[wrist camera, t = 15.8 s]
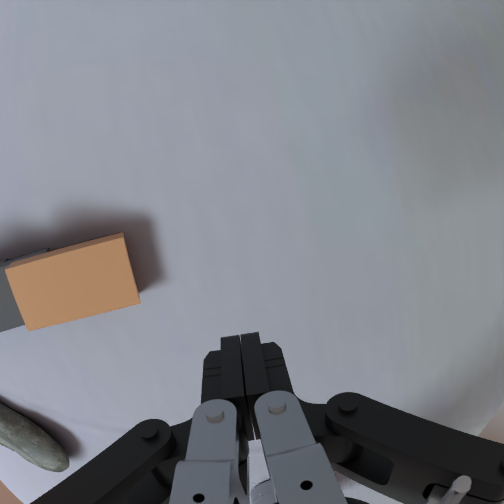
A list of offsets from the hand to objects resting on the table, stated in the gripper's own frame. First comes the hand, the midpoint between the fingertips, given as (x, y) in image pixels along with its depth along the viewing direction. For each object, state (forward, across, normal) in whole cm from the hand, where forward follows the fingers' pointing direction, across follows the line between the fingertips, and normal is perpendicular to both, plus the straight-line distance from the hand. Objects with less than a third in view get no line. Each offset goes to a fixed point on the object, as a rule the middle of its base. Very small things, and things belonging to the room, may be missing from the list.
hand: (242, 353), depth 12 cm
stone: (+12, +32, +19) cm, 39 cm away
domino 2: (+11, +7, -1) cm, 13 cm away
